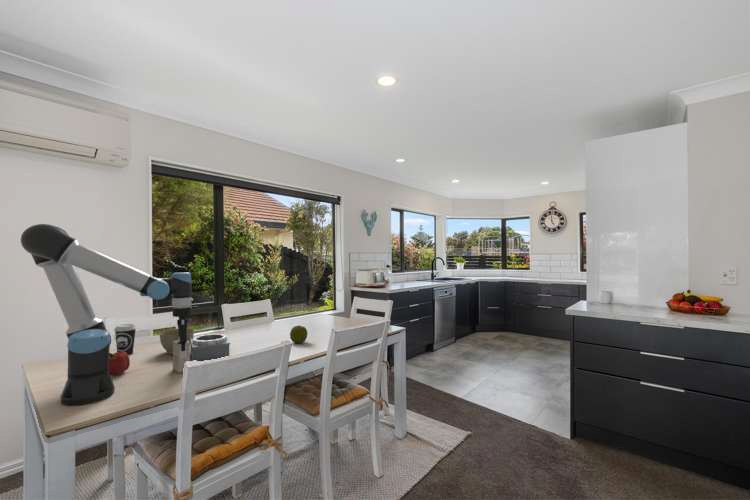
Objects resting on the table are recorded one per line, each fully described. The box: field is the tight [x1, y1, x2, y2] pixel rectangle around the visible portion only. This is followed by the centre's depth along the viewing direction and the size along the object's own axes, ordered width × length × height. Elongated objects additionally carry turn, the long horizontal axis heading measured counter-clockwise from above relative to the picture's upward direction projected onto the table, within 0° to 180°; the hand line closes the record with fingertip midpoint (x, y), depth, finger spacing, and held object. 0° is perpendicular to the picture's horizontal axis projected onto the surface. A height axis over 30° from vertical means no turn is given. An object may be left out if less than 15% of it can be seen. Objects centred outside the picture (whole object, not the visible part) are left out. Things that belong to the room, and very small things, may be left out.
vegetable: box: [109, 351, 131, 376], centre depth 150 cm, size 11×10×10 cm
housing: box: [190, 333, 231, 361], centre depth 176 cm, size 21×17×10 cm
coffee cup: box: [113, 323, 137, 356], centre depth 179 cm, size 10×10×15 cm
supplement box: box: [172, 340, 191, 374], centre depth 155 cm, size 8×5×13 cm, turn 47°
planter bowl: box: [158, 327, 195, 355], centre depth 184 cm, size 16×16×11 cm
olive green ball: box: [289, 325, 309, 344], centre depth 204 cm, size 10×10×11 cm
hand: (182, 354), depth 155 cm, fingers open, 13 cm apart
